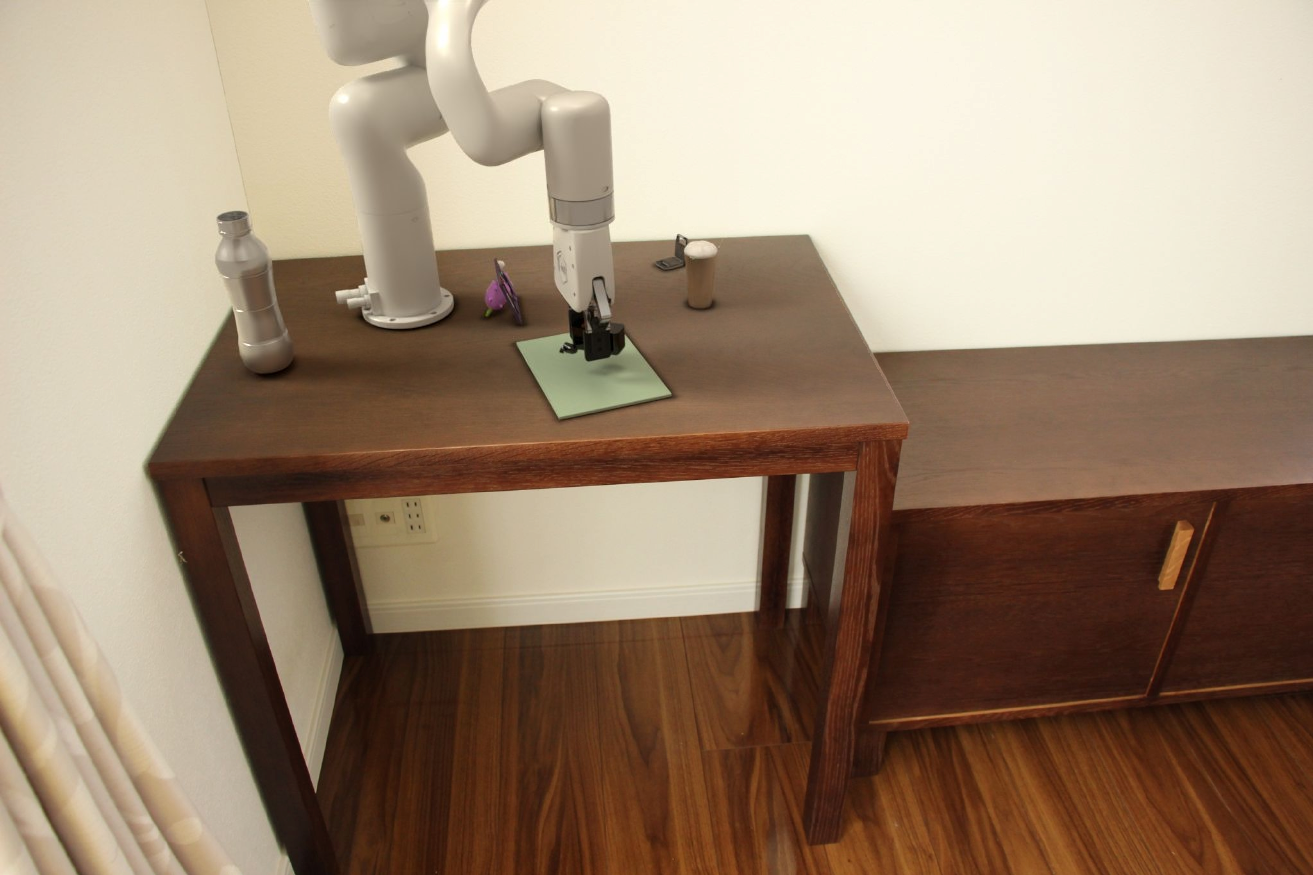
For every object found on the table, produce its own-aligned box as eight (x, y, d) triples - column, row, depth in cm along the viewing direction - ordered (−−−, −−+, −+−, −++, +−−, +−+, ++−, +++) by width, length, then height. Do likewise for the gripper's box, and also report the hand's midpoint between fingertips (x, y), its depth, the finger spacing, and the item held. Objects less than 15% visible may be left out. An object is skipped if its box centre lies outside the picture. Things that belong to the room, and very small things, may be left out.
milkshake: (719, 312, 137) (720, 244, 132) (681, 309, 138) (681, 242, 133) (723, 298, 141) (725, 232, 135) (686, 295, 142) (687, 229, 136)
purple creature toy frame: (506, 281, 130) (501, 255, 138) (470, 296, 131) (467, 270, 138) (527, 322, 134) (521, 295, 142) (492, 337, 134) (488, 309, 142)
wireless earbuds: (574, 339, 125) (572, 316, 123) (627, 347, 123) (625, 324, 121) (559, 356, 121) (557, 332, 119) (612, 365, 119) (611, 341, 117)
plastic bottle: (248, 384, 122) (206, 230, 111) (240, 361, 127) (199, 212, 116) (302, 372, 124) (266, 220, 113) (292, 350, 129) (256, 202, 118)
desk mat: (559, 420, 114) (559, 417, 114) (516, 344, 130) (516, 342, 130) (671, 396, 118) (671, 393, 118) (617, 326, 134) (617, 323, 134)
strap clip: (699, 252, 155) (699, 226, 153) (710, 258, 153) (710, 232, 151) (653, 264, 151) (653, 238, 149) (664, 271, 149) (664, 244, 147)
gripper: (530, 188, 118) (542, 324, 128) (571, 237, 104) (581, 385, 114) (589, 179, 120) (597, 314, 130) (638, 226, 107) (642, 373, 117)
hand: (590, 346), depth 122 cm, fingers closed on wireless earbuds, 5 cm apart
